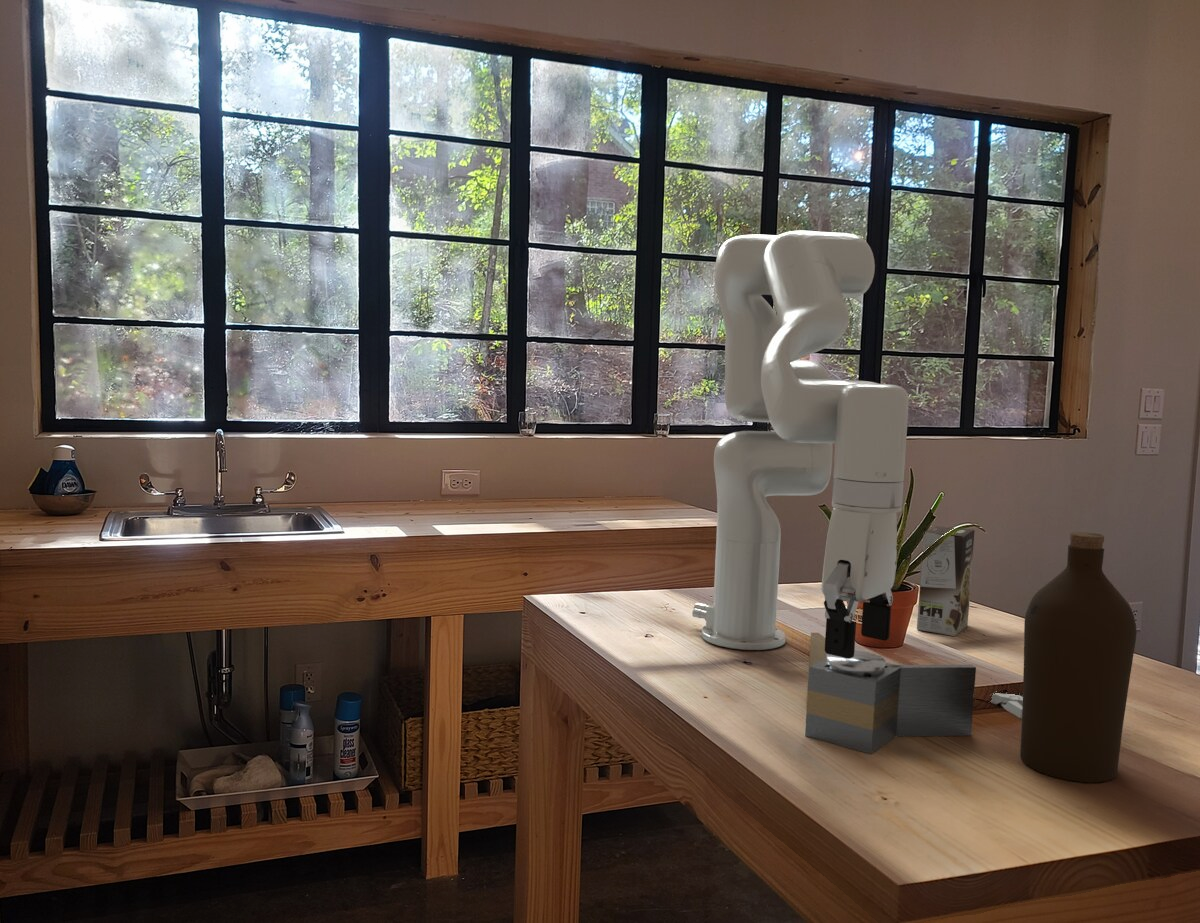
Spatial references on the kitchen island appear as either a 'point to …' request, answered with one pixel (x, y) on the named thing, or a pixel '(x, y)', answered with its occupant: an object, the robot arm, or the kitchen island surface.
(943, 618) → the coffee box
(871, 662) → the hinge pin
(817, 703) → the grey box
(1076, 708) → the olive oil
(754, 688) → the kitchen island surface
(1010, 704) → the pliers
